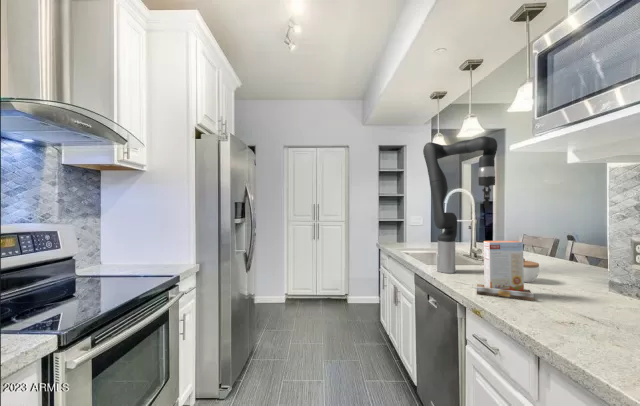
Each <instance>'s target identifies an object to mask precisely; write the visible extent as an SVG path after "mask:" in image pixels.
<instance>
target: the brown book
mask: <svg viewBox="0 0 640 406" xmlns="http://www.w3.org/2000/svg"><path fill="white" fill-rule="evenodd" d="M476 295H478V296H479V295H480V296H487V297H488V296H489V297H496V298H501V299H502V298H503V299H511V300H520V301H528V302H534V301H535V300H534V297H535V294H534V292H532V291H531V290H530V289H526V288H524V291H511V290H502V289H493V288H484V284H480V283H479V284H477V283H476Z"/></svg>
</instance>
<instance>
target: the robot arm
mask: <svg viewBox="0 0 640 406" xmlns="http://www.w3.org/2000/svg"><path fill="white" fill-rule="evenodd" d="M423 146H424V147H423V150H422V151H423V152H422V153H423V157H424V161H425V165H426V168H427V175H428V180H429V186H430V192H431V197H432V206H433V207H432V208H433V220H434V225H435V227H436V228H437V229H439V230H443V232H442V233H441V234H438V236H437V254H436V272H439V273H444V274H454V273H456V238H457V235H458V218H457V216H456V215H457V214H455V213H454V212H445V210H444V202H445V199H446V196H447V194H448V191H449V187H448V186H449V185H448V182H447V178H446V175H445V173H444V172H443V169H442V168H441V166H440V165H439V162H438V161H439V160H440V159H443V158H446V157H451V156H457V155H463V154H471V153H476V152H478V151H483V153H482V155H481V156H480V157H479V159H478V175H477V177H478V182H477V183H478V186H480V187H483V189H482V197H483V202H484V204H483V206H484V209H490V200H491V196H492V194H491V193H492V188H490V187H491V186H493V187H494V186H496V168H495V167H496V166H495V164H496V163H495V162H496V161H495V158H496V156H497V155H496V154H497V151H498V141H497V140H496V139H495V138H494V137H489V136H486V135H485V136H478V137H475V138H471V139H465V140H459V141H457V142H454V143H452V144H440V143H435V142H431V141H430V142H427V143H425V144H424V145H423Z"/></svg>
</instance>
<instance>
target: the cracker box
mask: <svg viewBox="0 0 640 406" xmlns="http://www.w3.org/2000/svg"><path fill="white" fill-rule="evenodd" d="M523 258H524V242H523V241H519V240H484V241H483V282H484V283H483V285H484V288H493V289H502V290H511V291H524V289H525V286H524V285H525V282H524V266H523Z"/></svg>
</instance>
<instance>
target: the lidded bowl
mask: <svg viewBox="0 0 640 406" xmlns="http://www.w3.org/2000/svg"><path fill="white" fill-rule="evenodd" d="M523 266H524V283H529V284H530V283H533V281H535V280H536V279H537V278H538V276H539V271H540V269H539V268H540V263H538V262H536V261H530V260H526V259H525V258H524V257H523Z"/></svg>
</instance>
